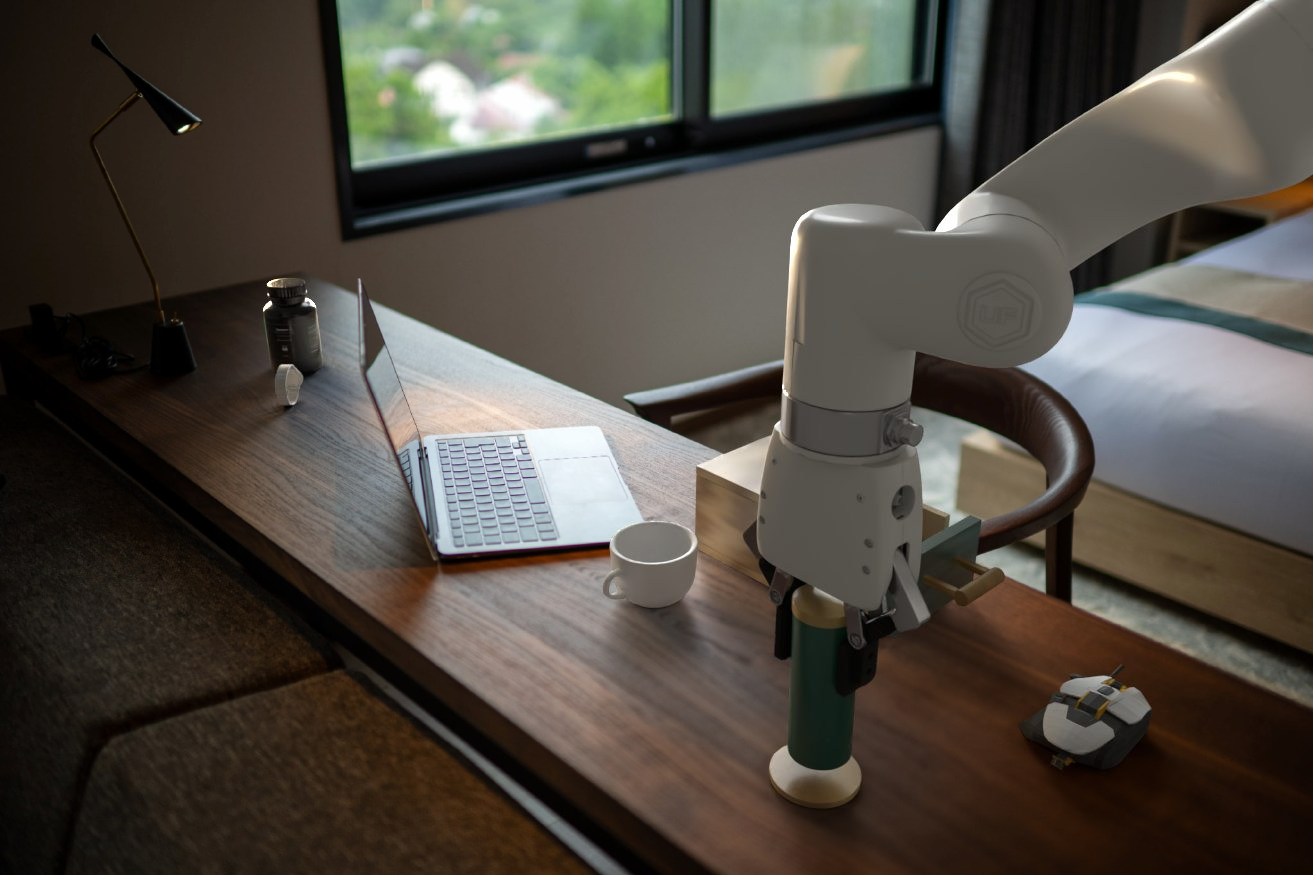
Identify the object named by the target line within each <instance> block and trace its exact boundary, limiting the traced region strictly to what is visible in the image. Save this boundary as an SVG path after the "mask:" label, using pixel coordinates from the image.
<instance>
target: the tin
mask: <svg viewBox="0 0 1313 875" xmlns="http://www.w3.org/2000/svg"><path fill="white" fill-rule="evenodd" d="M847 638H848V636H847V628H846V620H845V612H844V604H843V601H841V600H839V599H837V598H835V597H833V596H831V595H829V594H827V593H825V592H823V591H821V590H819V589H817V588H815V587H813V586H811V585H809V584H806V585H803V586H801V587H799V588H798V589H797V590H795V592H794V593H793V595H792V631H791V657H790V658H789V659H790V662H789V686H788V687H789V690H788V716H787V718H788V720H787V721H788V722H787V743H786V745H787V748H788V752H789V755H790V756H791V758H792V759H793V760H794V761H795V762H797V763H798V764H800V765H802V766H804V767H806V768H809V769H813V770H821V771H825V770H833V769H837V768H839V767H841V766H843V765H845V764H846V763H847V762H848V761H849V759H850V758H851V756H852V755H853V743H854V742H853V740H854V724H855V711H856V710H855V709H856V692H857V690H856V691H854V692H853V693H851V694H850V695H848V696H847V697H842V696H841V695H839V694H837V691H836V690H835V686H836V675H837V664H838V653H839V645H840V644H841V642H843V641H844V640H846V639H847Z"/></svg>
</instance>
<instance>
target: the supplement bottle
mask: <svg viewBox="0 0 1313 875" xmlns="http://www.w3.org/2000/svg"><path fill="white" fill-rule="evenodd" d="M266 285H267V286H266V287H267V298H268V299H269V300H270V301H268V302H267V303H266V304H265V306H264V307H263V310H262V316H263V324H264V329H265V330H264V331H265V335H266V343H267V350H268V356H269V362H270V368H271V370H272V372H274V373H275V374H277V370H278V367H279V366H280V365H294V367H295V368H297V370H298V371H300V372H301V374H302V376H305V375H309V374H312V373H315V372H317V371H318V370H320V369H321V368H322V367H323V364H324V358H323V349H322V340H321V333H320V325H319V318H318V310H317V306H316V305H315V303H314V302H313V301H312V300H311V299H309V298H308V297H307V296H308V290H307V286H306V281H305V280H304V279H303V278H297V277H283V278H277V279H273V280H271V281H269V282H268V283H266Z"/></svg>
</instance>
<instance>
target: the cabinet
mask: <svg viewBox="0 0 1313 875" xmlns="http://www.w3.org/2000/svg"><path fill="white" fill-rule="evenodd" d="M771 436H772V434H771V435H767V436H766V437H763V438H760V439H758V440H755V441H753V442H750V443H748V444H746V445H743V446H741V447H738V448H736V449H734V450H730V451H729V452H727V453H724V454H721V455H719V456H716V457H714V458H711V459H709V460H706V461H704V462H701V463H699V464H697V465H695V474H696V475H695V508H694V509H695V511H694V512H695V514H694V515H695V516H694V534H695V535H696V537H697V541H698V551H700V552H702V553H704V554H706V555H708V556H709V557H712V558H713V559H715V560H717V561H719V562H721V563H723V564H724V565H727V566H728V567H730V568H732V569H734V570H736V571H737V572H740V573H741V574H743V575H745V576H747V577H748V578H751V579H753V580H754V581H757V582H759V583H761V584H762V585H764V586H766V587H768V588H770V586H769V584H768V582H767V580H766V579H765V577H764V575H763V573H762V571H761V570H760V567H759V560H758V559H757V560H756V558H755V557H754V555H753V554H752V552H751V551H750V550H749V548H748V547H747V545H746V544H745V542H744V540H743V533H744V532H745V531H746V530H747V529H748V528H749V527H750V526H751V525H752V524H753V523H754V522H755V520H756V519H757V515H758V503H759V495H760V487H761V481H762V474H763V469H764V464H765V459H766V454H767V450H768V447H769V443H770V439H771Z"/></svg>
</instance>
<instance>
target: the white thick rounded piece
mask: <svg viewBox="0 0 1313 875" xmlns="http://www.w3.org/2000/svg"><path fill="white" fill-rule="evenodd" d="M303 381H304V375H302V374H301V372H300V371H298V370H297V368H295V367H294V365H280V366H279V367H278V370H277V373H275V378H274V390H275V391H274V394H275V396H276V400H277V403H278V405H281V406H294V405H295V404H296V403H297V401H298V398H299V390H300V389H301V385H302V384H303Z"/></svg>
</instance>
